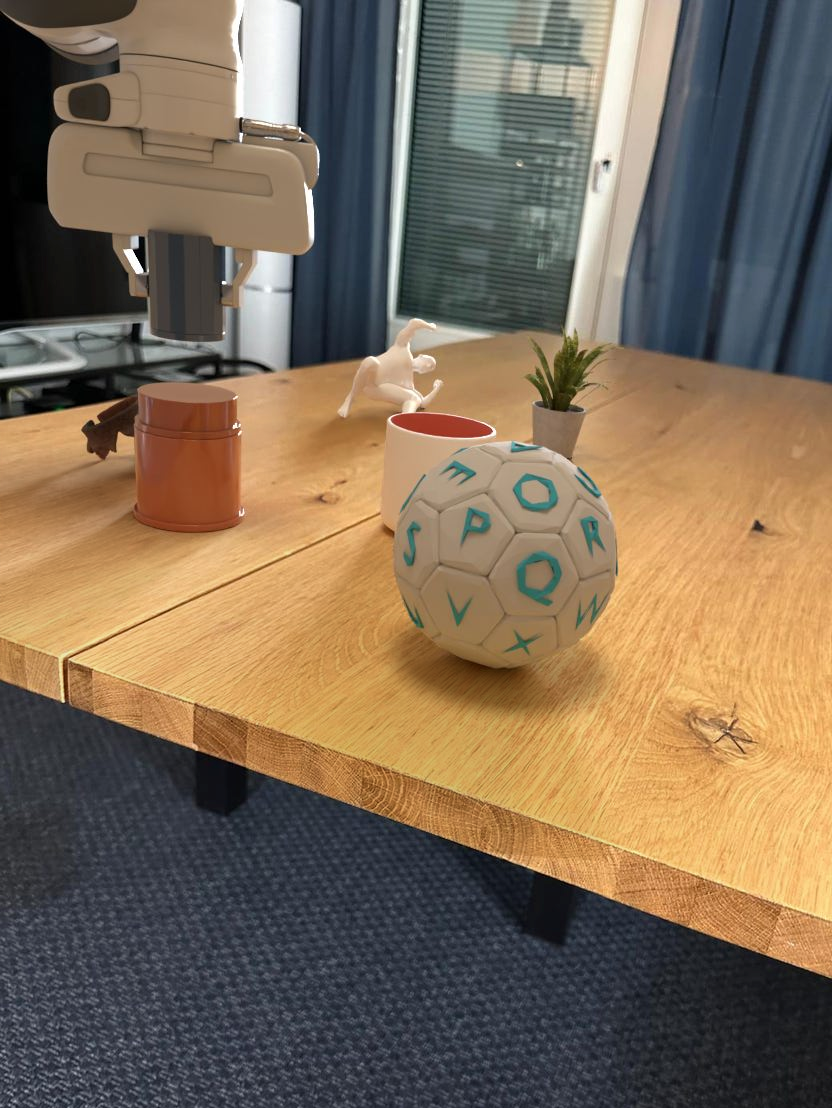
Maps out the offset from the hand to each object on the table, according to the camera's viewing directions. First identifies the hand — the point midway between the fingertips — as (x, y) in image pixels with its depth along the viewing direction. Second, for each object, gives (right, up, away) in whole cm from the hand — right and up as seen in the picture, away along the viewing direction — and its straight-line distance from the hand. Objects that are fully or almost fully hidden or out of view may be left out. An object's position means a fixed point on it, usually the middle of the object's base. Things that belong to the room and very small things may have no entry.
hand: (186, 301), depth 76 cm
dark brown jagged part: (-10, -10, +20) cm, 25 cm away
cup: (+20, -18, +12) cm, 29 cm away
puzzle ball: (+25, -29, -11) cm, 40 cm away
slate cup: (0, -2, +1) cm, 3 cm away
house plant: (+35, -4, +45) cm, 57 cm away
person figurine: (+12, +5, +58) cm, 59 cm away
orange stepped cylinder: (-2, -16, +8) cm, 18 cm away
